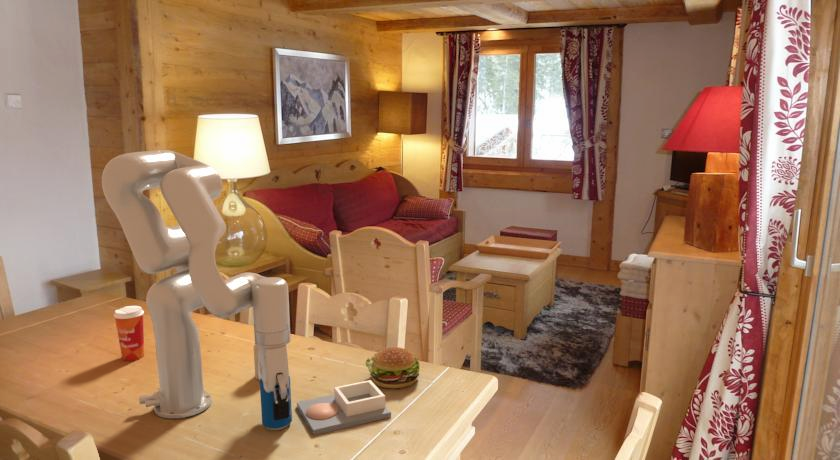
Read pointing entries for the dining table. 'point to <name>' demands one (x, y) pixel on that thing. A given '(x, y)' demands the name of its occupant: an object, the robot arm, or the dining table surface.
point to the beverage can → (267, 409)
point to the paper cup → (130, 332)
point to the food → (393, 367)
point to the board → (345, 407)
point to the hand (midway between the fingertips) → (276, 408)
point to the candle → (256, 361)
